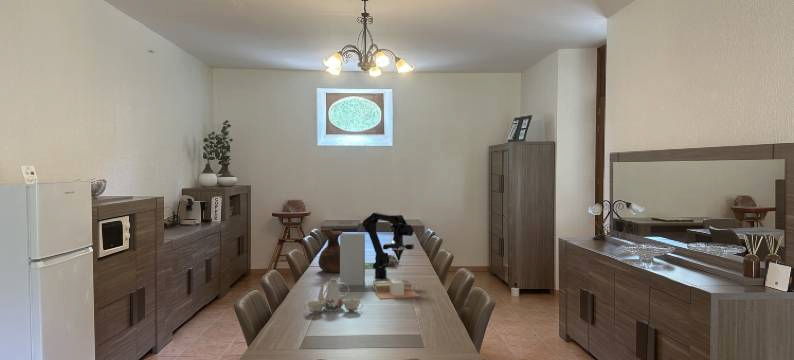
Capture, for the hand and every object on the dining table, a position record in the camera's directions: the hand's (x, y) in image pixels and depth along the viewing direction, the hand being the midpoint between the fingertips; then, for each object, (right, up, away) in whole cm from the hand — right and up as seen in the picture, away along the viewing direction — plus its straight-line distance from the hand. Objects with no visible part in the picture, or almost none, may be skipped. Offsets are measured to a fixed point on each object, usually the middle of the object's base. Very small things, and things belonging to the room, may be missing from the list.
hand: (398, 260), depth 311 cm
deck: (-4, -14, -20) cm, 25 cm away
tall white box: (-28, -13, -6) cm, 32 cm away
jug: (-44, -12, +30) cm, 54 cm away
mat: (-1, -14, -32) cm, 35 cm away
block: (-2, -10, -27) cm, 29 cm away
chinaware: (-33, -15, -63) cm, 72 cm away
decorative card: (-14, -12, +48) cm, 51 cm away
